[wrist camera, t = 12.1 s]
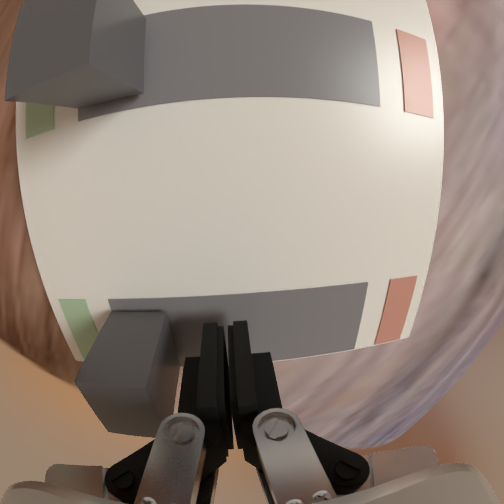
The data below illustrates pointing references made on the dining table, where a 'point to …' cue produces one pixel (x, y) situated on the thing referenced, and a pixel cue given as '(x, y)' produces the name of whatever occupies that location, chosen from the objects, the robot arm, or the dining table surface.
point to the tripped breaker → (131, 373)
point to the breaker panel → (247, 178)
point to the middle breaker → (76, 52)
